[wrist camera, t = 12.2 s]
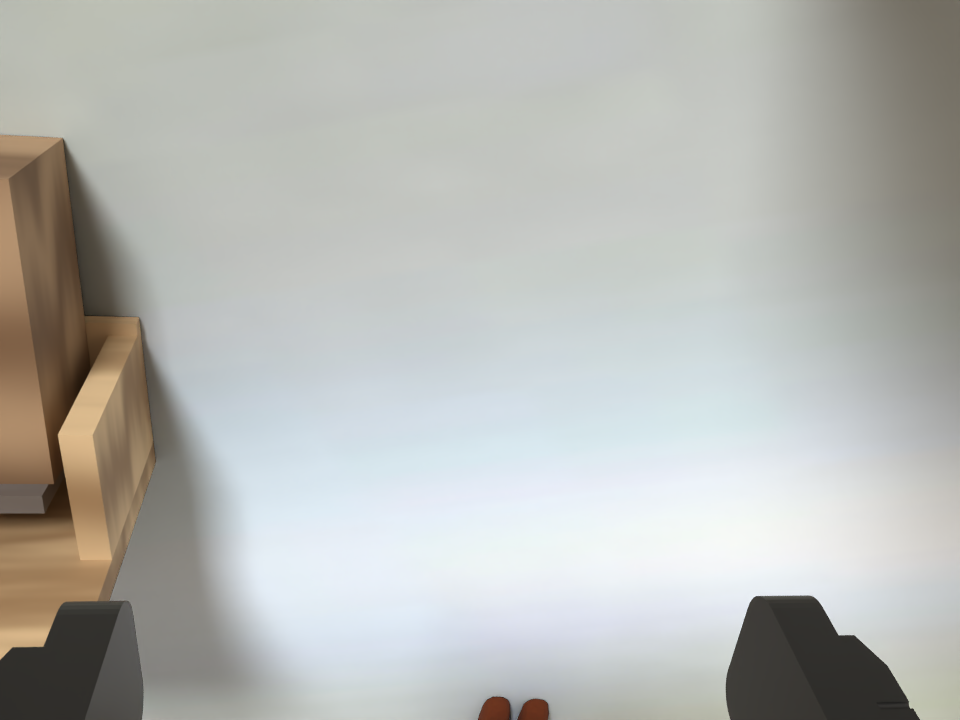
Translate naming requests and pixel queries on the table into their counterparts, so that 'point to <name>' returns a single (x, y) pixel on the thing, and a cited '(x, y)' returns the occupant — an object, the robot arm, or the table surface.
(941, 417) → the table surface
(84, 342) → the light brown wooden block
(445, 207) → the table surface
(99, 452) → the wooden chair
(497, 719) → the toy
